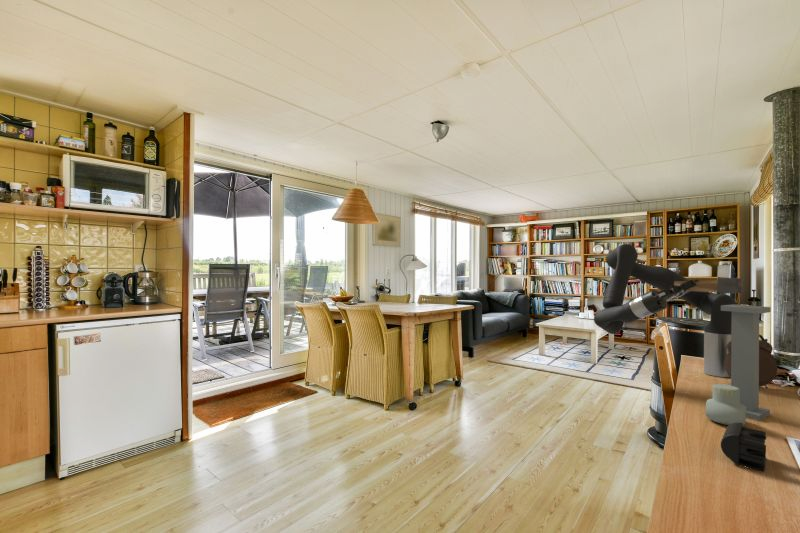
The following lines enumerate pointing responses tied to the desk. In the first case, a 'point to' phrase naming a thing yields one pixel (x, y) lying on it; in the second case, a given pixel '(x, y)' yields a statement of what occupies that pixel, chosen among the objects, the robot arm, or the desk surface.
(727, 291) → the mallet
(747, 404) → the stand
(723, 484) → the desk surface
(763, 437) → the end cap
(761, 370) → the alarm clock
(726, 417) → the air freshener
